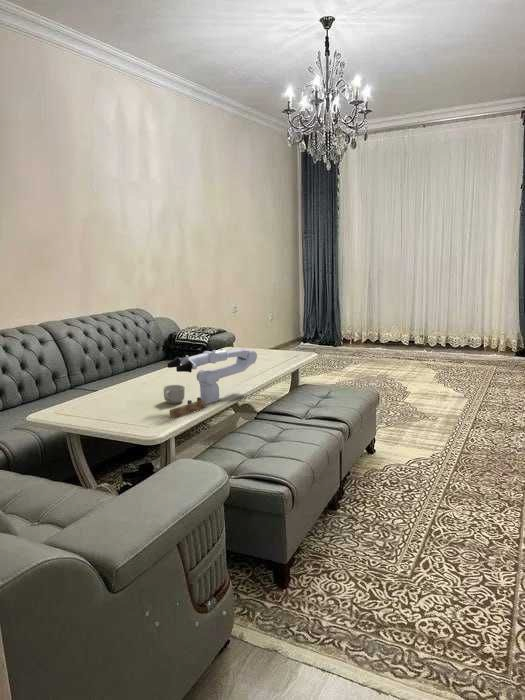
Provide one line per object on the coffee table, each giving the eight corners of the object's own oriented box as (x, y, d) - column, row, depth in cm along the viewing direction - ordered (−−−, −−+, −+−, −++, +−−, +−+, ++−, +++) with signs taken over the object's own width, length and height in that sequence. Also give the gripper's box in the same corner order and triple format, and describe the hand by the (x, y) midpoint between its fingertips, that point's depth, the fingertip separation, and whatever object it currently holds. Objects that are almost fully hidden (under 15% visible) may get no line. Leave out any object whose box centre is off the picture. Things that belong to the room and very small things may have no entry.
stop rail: (199, 406, 267) (199, 397, 266) (205, 408, 264) (204, 398, 263) (167, 417, 252) (166, 407, 251) (172, 419, 250) (172, 408, 249)
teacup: (173, 398, 283) (172, 383, 282) (189, 400, 278) (189, 385, 276) (155, 405, 272) (154, 390, 270) (172, 408, 266) (171, 392, 264)
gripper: (186, 350, 271) (163, 356, 262) (203, 357, 261) (180, 363, 252) (187, 363, 273) (164, 369, 265) (204, 370, 263) (181, 377, 254)
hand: (172, 367), depth 259 cm, fingers open, 7 cm apart
